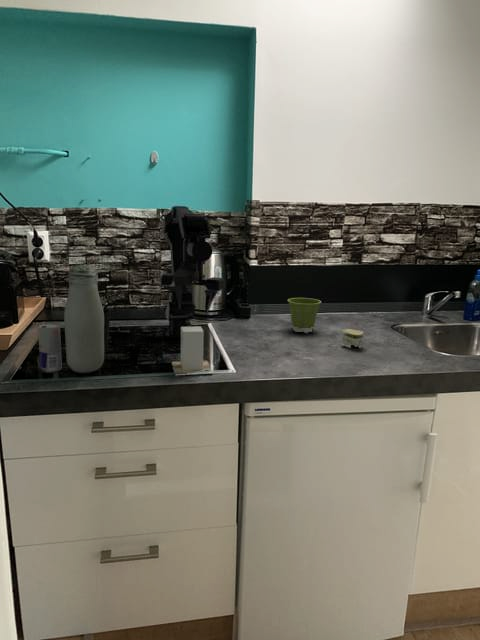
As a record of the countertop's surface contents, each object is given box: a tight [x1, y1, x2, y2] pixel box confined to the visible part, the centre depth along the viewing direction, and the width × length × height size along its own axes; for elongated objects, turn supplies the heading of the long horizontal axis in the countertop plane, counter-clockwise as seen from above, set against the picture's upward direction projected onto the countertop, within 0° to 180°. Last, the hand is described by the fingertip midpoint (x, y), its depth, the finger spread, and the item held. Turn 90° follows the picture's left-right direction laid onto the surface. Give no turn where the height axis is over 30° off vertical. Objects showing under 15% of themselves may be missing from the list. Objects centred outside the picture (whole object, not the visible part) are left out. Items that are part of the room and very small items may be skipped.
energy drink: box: [37, 323, 63, 374], centre depth 137 cm, size 5×5×12 cm
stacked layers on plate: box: [341, 328, 364, 345], centre depth 167 cm, size 10×9×6 cm
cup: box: [103, 308, 111, 353], centre depth 155 cm, size 8×8×12 cm
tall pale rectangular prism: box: [180, 325, 205, 370], centre depth 140 cm, size 5×5×11 cm
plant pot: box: [287, 297, 322, 328], centre depth 184 cm, size 12×12×11 cm
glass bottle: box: [63, 265, 105, 374], centre depth 134 cm, size 10×10×28 cm
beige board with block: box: [171, 359, 213, 376], centre depth 141 cm, size 10×10×4 cm
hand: (192, 310), depth 154 cm, fingers open, 9 cm apart
